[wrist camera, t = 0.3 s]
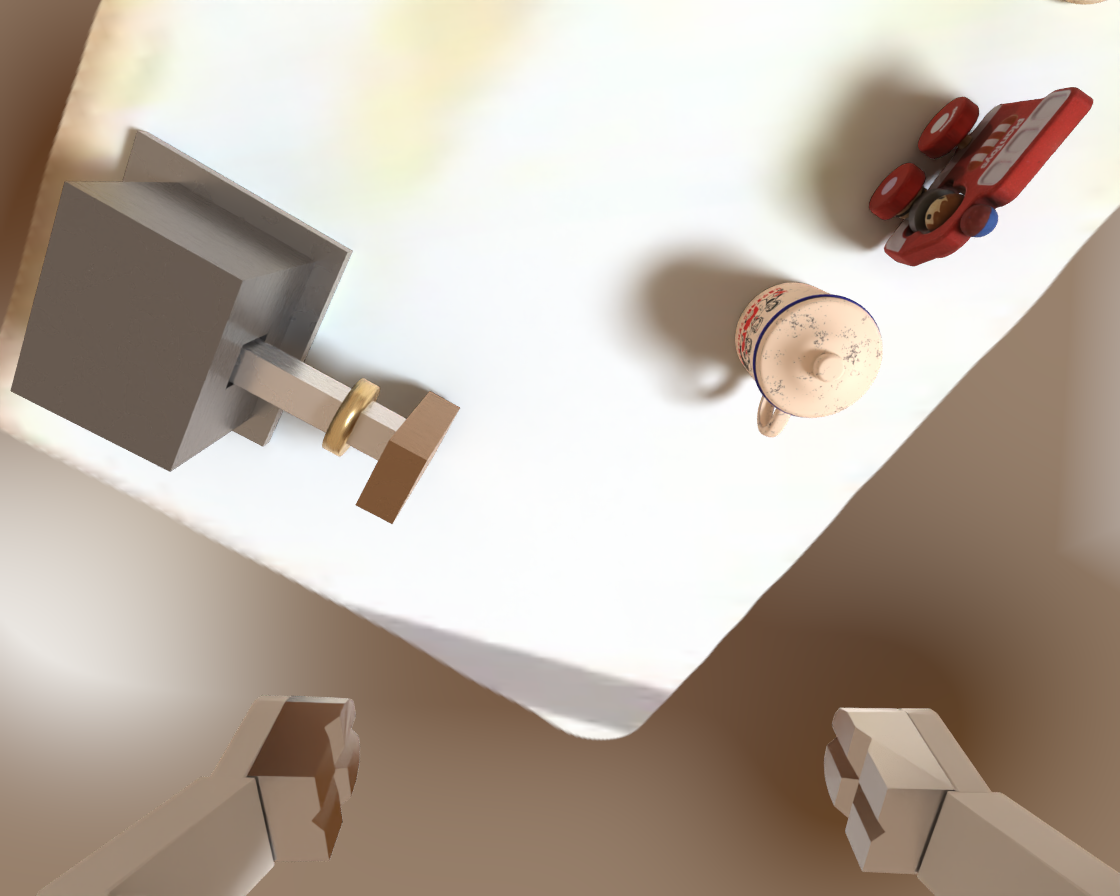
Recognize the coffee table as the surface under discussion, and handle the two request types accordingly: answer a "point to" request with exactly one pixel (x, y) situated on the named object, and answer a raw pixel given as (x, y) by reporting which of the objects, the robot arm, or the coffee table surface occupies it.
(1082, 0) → the stacking toy
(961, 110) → the toy fire truck
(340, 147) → the coffee table surface
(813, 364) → the teacup with lid
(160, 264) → the bearing block
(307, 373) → the shaft
